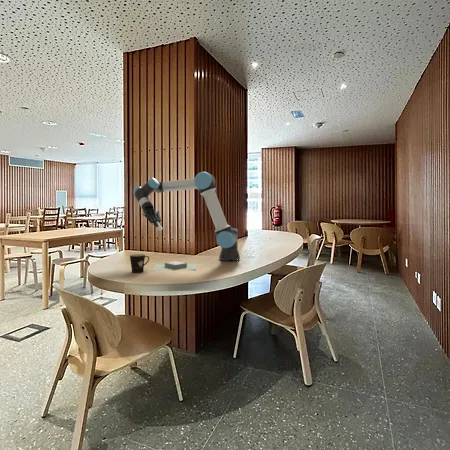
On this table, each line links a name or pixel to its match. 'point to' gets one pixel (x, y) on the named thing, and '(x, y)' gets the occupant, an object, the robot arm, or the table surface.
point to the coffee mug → (138, 262)
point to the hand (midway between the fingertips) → (161, 229)
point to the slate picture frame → (175, 265)
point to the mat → (162, 267)
